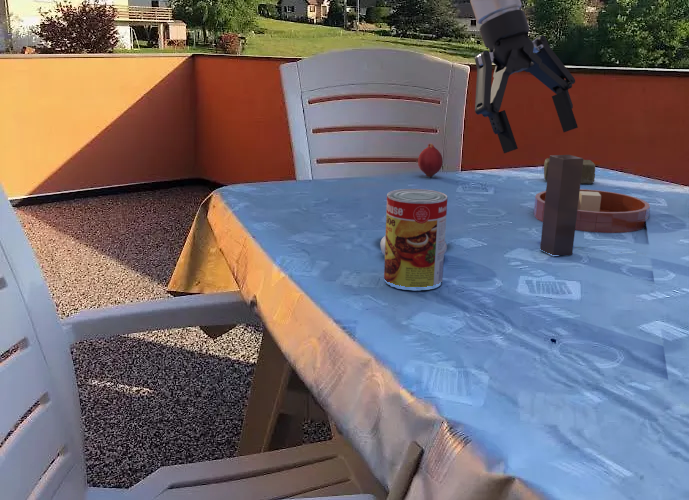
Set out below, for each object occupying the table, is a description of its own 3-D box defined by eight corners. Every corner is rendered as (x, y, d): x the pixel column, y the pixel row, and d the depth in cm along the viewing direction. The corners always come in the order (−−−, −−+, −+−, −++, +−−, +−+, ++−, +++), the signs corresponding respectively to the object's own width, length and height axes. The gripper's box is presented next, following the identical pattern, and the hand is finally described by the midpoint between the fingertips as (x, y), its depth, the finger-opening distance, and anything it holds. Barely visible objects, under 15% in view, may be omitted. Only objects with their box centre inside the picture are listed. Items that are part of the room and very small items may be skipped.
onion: (422, 173, 171) (423, 140, 169) (445, 176, 169) (447, 142, 167) (413, 177, 166) (415, 143, 164) (437, 180, 164) (439, 145, 162)
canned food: (384, 271, 100) (387, 187, 96) (441, 273, 99) (446, 189, 96) (382, 290, 92) (385, 200, 89) (443, 293, 92) (449, 202, 88)
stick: (558, 248, 112) (569, 154, 108) (572, 255, 109) (583, 158, 105) (539, 250, 111) (549, 155, 107) (553, 257, 108) (563, 159, 104)
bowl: (644, 214, 135) (647, 194, 134) (648, 241, 117) (652, 217, 116) (539, 205, 141) (541, 185, 140) (527, 228, 124) (529, 206, 123)
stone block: (541, 177, 169) (544, 156, 168) (591, 180, 167) (594, 159, 166) (544, 182, 164) (546, 161, 162) (595, 185, 162) (598, 163, 160)
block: (596, 209, 136) (598, 192, 135) (599, 214, 132) (601, 195, 131) (577, 208, 136) (579, 190, 135) (579, 213, 133) (581, 194, 132)
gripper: (540, 12, 125) (578, 127, 126) (427, 40, 114) (470, 165, 115) (570, -6, 118) (610, 116, 119) (453, 22, 107) (498, 155, 108)
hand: (541, 140), depth 117 cm, fingers open, 13 cm apart
